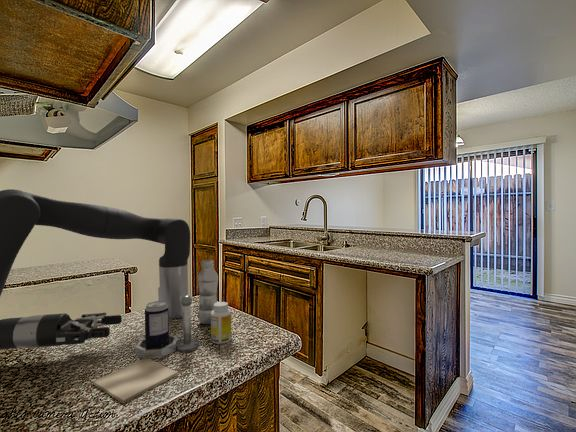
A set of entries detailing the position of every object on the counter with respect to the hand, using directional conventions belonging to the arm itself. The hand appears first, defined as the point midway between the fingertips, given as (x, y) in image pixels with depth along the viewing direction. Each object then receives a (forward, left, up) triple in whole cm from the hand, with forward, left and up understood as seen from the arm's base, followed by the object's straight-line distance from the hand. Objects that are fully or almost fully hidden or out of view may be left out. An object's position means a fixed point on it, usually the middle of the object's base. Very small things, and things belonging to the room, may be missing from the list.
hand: (115, 325), depth 79 cm
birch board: (+16, -4, -7) cm, 18 cm away
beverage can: (+7, +7, -7) cm, 12 cm away
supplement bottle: (+17, +20, -7) cm, 27 cm away
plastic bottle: (+4, +27, -7) cm, 28 cm away
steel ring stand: (+9, +9, -7) cm, 14 cm away
